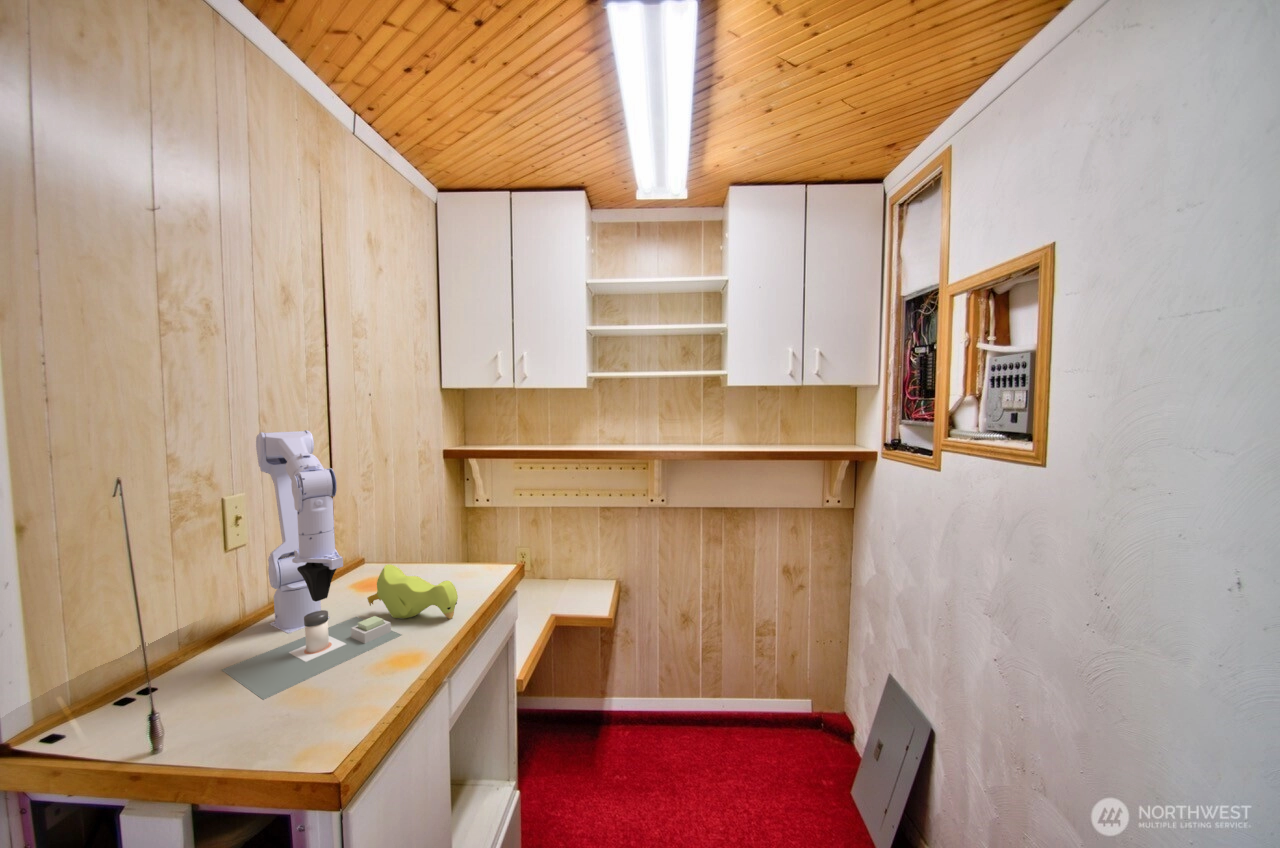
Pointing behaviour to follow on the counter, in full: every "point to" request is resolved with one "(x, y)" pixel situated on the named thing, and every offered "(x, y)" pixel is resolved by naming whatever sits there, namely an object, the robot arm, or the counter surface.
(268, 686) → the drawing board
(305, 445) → the robot arm
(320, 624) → the jar with dark lid
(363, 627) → the button
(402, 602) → the toy
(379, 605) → the counter surface
